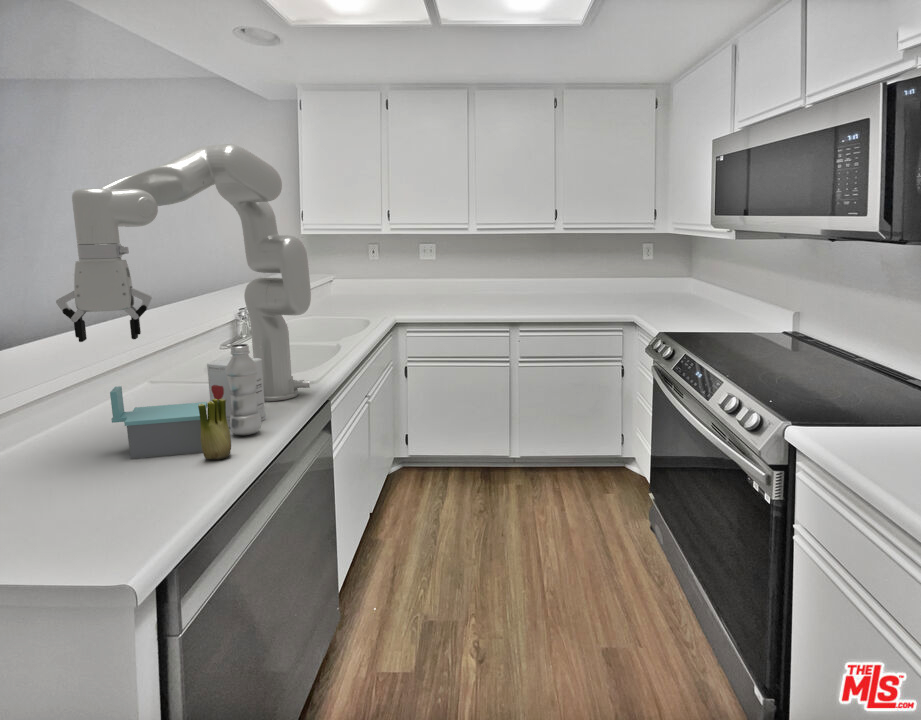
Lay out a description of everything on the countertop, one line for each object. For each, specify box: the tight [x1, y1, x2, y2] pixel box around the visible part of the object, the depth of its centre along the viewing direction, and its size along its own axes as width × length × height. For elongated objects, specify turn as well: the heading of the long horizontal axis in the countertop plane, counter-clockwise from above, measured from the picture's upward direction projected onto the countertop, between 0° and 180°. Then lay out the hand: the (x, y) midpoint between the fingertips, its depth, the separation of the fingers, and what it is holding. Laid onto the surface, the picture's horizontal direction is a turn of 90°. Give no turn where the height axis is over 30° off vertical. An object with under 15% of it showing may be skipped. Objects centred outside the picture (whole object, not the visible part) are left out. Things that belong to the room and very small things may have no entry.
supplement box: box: [206, 355, 266, 429], centre depth 168 cm, size 9×9×15 cm
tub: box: [126, 420, 203, 460], centre depth 151 cm, size 14×11×7 cm
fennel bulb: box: [198, 399, 232, 461], centre depth 143 cm, size 6×5×12 cm
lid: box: [109, 385, 208, 427], centre depth 149 cm, size 18×12×7 cm, turn 104°
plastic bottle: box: [226, 343, 262, 436], centre depth 158 cm, size 6×7×20 cm
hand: (109, 339), depth 145 cm, fingers open, 9 cm apart
